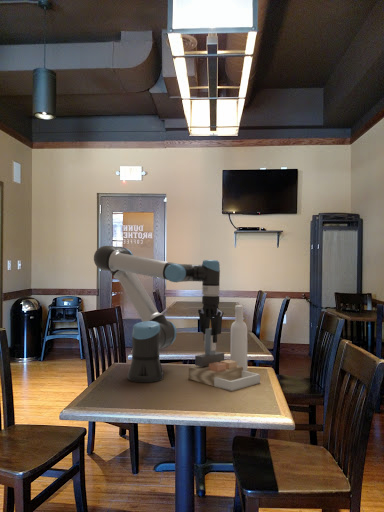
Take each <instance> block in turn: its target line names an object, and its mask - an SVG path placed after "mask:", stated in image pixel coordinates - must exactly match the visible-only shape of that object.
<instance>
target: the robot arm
mask: <svg viewBox="0 0 384 512" xmlns="http://www.w3.org/2000/svg"><path fill="white" fill-rule="evenodd" d="M93 262H94V264H95V266H96V267H97V268H98V269H99V270H101V271H108V272H110V274H111V275H112V277H113V279H116V280H118V281H119V283H120V286H122V288H123V290H124V292H125V294H126V295H127V297H128V299H129V300H130V302H131V304H132V306H133V307H134V309H135V311H136V313H137V314H138V316H139V318H140V320H141V321H140V322H137V323H135V324H134V325H133V326H132V333H131V340H132V341H131V342H132V343H131V346H132V347H131V349H132V350H131V362H130V365H129V368H128V372H127V379H128V380H129V381H131V382H135V383H155V382H159V381H162V380H163V379H164V370H163V367H162V364H161V361H160V350H161V349H163V348H167V347H169V346H171V345H173V343H174V342H175V341H176V338H177V335H178V334H177V331H178V330H177V328H176V325H175V324H174V323H173V322H172V321H170V320H167V317H166V316H165V315H164V313H160V312H159V311H158V309H157V307H156V306H155V303H154V302H153V300H152V298H151V297H150V295H149V293H148V292H147V290H146V288H145V286H144V284H142V281H141V279H140V278H139V276H138V275H143V276H147V277H150V278H151V277H152V278H155V279H157V278H158V279H162V280H166V281H169V282H171V283H181V282H182V283H183V282H186V283H187V282H202V286H201V289H202V290H201V291H202V292H201V293H202V294H201V295H202V297H201V304H202V305H203V306H202V308H201V309H200V308H199V309H198V310H197V313H198V314H199V315H198V316H199V320H198V321H199V331H200V333H202V334H203V343H204V345H203V348H204V350H205V330H206V329H207V328H212V334H211V347H210V351H213V350H215V351H217V343H218V335H220V334H222V327H223V326H222V324H223V316H224V314H225V313H224V311H221V310H220V308H219V305H220V296H219V295H220V278H221V276H220V274H221V270H220V269H221V268H220V265H221V264H220V261H219V260H215V259H206V260H205V259H204V260H202V264H190V263H189V264H187V263H175V262H169V261H165V260H159V259H156V258H155V259H153V258H148V257H144V256H138V255H134V254H133V253H132V251H131V250H130V249H128V248H127V247H123V246H115V245H114V246H112V245H103V246H100V247H98V249H96V251H95V252H94V255H93ZM210 326H211V327H210Z"/></svg>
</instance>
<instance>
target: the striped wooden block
mask: <svg viewBox="0 0 384 512" xmlns="http://www.w3.org/2000/svg"><path fill="white" fill-rule="evenodd" d="M242 371H243V367H242V366H237V368H233V369H226V370H224V371H220V372H216V371H212V370H209V365H208V366H203V367H200V366H197V365H192V366H188V380H191V381H194V382H198V383H202V384H205V385H209V386H213V387H215V386H214V377H218V378H221V379H225V380H229V381H231V380H235V379H239V378H242Z"/></svg>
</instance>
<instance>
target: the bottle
mask: <svg viewBox="0 0 384 512" xmlns="http://www.w3.org/2000/svg"><path fill="white" fill-rule="evenodd" d="M234 313H235V318H234V321H233V322H232V323H231V324H230V325H231V326H230V353H229V354H230V359H229V360H232V361H236V362H237V366H242V367H243V370H244V371H248V326H247V324H246V322H245V321H244V306H243V305H239V304H238V305H237V304H236V305H235V307H234Z"/></svg>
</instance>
